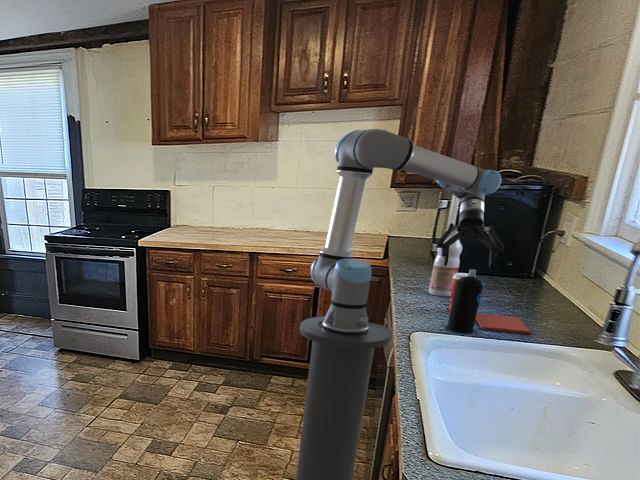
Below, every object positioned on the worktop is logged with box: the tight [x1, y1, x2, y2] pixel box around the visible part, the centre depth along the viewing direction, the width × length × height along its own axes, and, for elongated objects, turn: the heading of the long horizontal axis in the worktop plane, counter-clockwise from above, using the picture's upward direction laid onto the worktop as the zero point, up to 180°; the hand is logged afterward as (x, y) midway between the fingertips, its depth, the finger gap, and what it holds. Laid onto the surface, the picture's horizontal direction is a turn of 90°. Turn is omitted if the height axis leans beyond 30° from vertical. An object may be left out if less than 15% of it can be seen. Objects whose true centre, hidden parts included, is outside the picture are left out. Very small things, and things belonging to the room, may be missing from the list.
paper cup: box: [448, 272, 477, 312], centre depth 195 cm, size 8×8×14 cm
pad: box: [475, 313, 532, 336], centre depth 182 cm, size 14×18×1 cm
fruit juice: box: [428, 225, 463, 297], centre depth 219 cm, size 9×9×28 cm
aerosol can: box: [445, 269, 486, 334], centre depth 173 cm, size 8×8×20 cm
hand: (468, 265), depth 179 cm, fingers open, 13 cm apart
